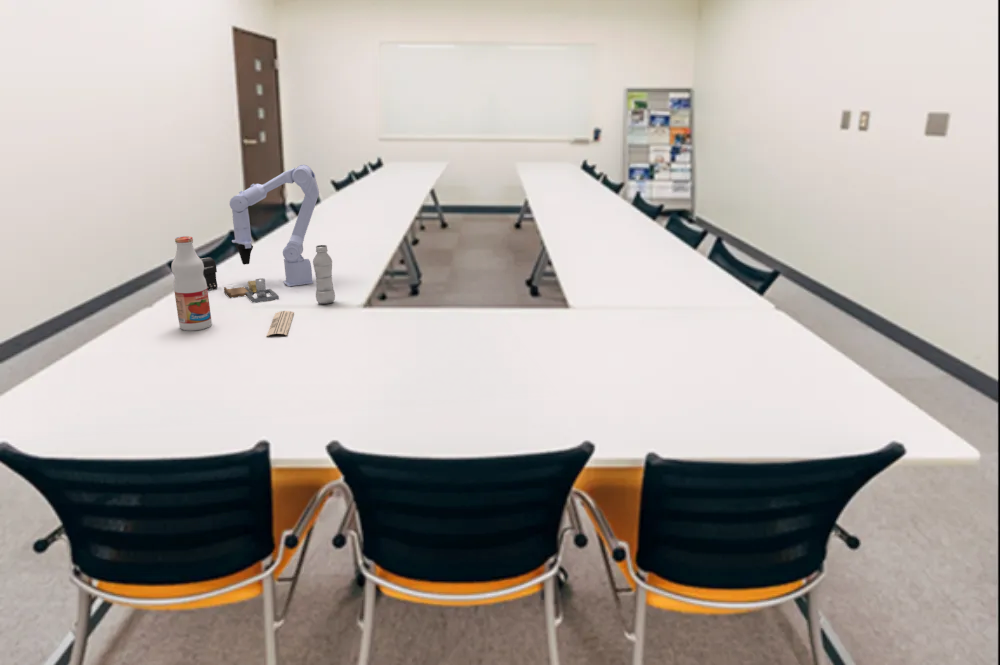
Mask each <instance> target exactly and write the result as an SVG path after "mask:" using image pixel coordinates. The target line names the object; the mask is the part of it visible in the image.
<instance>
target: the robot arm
mask: <svg viewBox="0 0 1000 665" xmlns="http://www.w3.org/2000/svg"><path fill="white" fill-rule="evenodd" d="M294 183H295V184H296V185H297V186H299V187H300V189H301V190H302V193H303V194H304V197H303V199H302V202H301V206H300V208H299V212H298V215H297V218H296V220H295V224H294V226H293V230H292V233H291V236H290V237H289V241H288V242H287V243H286V245H285V247H284V248H283V249H282V255H283V258H284V259H283V261H284V262H283V263H284V274H285V276H284V277H285V280H282V283H284V284H285V285H286V286H287V287H296V286H302V285H303V286H304V285H311V284H313V283H314V281H313V273H312V272H313V270H312V264H311V260H310V259H309V258H305V257H304V256H303V255H302V253H303V252H304V246H303V243H304V241H305V237H306V234H307V232H308V231H307V230H308V228H309V225H310V221H311V219H312V216H313V212H314V211H315V206H316V203H317V201H318V198H319V195H320V191H319V190H320V189H319V186H318V183H317V178H316V174H315V172H314V171H313V170H312V168H311V167H310V166H309V165H306V164H300V165H298V166H297V167H293V168H290V169H287V170H285V171H284V172H281V173H280V174H279V175H277V176H275V177H273V178H271V179H270V180H268V181H267V182H264V183H263V184H260V183H252V184H250V187H248V188H247V189H245V190H240V191H239V192H238V194H236V195H233V197H231V198H230V200H229V206H230V209H231V211H232V212H231V214H232V223H233V233H234V239H232V240H231V242H232V243H233V244H236V245H235V248H236V250H237V252H238V254H239V257H240V261H241V263H242V265H244V266H245V265H249V264H250V263H251V262H250V261H251V253H252V250H253V249H254V245H252V242H253V239H252V232H251V231H252V230H251V224H250V222H251V221H250V214H249V206H253V205H255V204H257V203H259V202H260V201H262V200H264V199H266V198H267V195H268V193H269V192H271V191H272V190H274V189H277V188H279V187H280V186H282V185H284V184H294Z"/></svg>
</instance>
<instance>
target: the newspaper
mask: <svg viewBox="0 0 1000 665" xmlns="http://www.w3.org/2000/svg"><path fill="white" fill-rule="evenodd" d="M294 316H295V312H294V311H290V310H281V311H277V312H275V314H274V316H273V319H272V320H271V323H270V326H269V328H268V331H267V334H266V337H267V338H270V336H272V335H285V337H288V336H289V333H290V332H289V331H290V329H291V326H292V322H293V318H294Z"/></svg>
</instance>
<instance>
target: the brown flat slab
mask: <svg viewBox="0 0 1000 665" xmlns="http://www.w3.org/2000/svg"><path fill="white" fill-rule="evenodd" d="M223 292H224V293H225V295H226V294H227V295H228V296H229V297H233V298H238V296H241V297H245V296H244V295H246V294H245V292H249V291H248V290H247V289H245V287H244V286H241V287H240V286H239V287H233V288H227V287H226V286H225V287H223ZM227 295H226V296H227ZM228 296H227V297H228ZM229 297H228V298H229Z"/></svg>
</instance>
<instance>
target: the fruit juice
mask: <svg viewBox="0 0 1000 665" xmlns="http://www.w3.org/2000/svg"><path fill="white" fill-rule="evenodd" d="M174 242H175V245H176V250H175V252H176V253H175V257H174V259H173V261H172V262H171V271H172V274H173V277H174V279H173V292H174V297H175V306H176V310H177V318H178V325H179V328H180V329H181V330H183V331H188V332H189V331H194V332H195V331H200V330H205V329H207V328H210V327H211V326H212V320H213V319H212V315H211V308H210V306H211V305H210V298H209V290H207V283H206V279H205V277H204V275H203V271H204V264H203V262H202V260H201V259H202V258H200V257H199V256H198V254H197V252H196V249H195V248H194V245H193V243H194V239H193V237H192V236H188V235H186V236H185V235H183V236H178V237H175V238H174Z"/></svg>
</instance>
